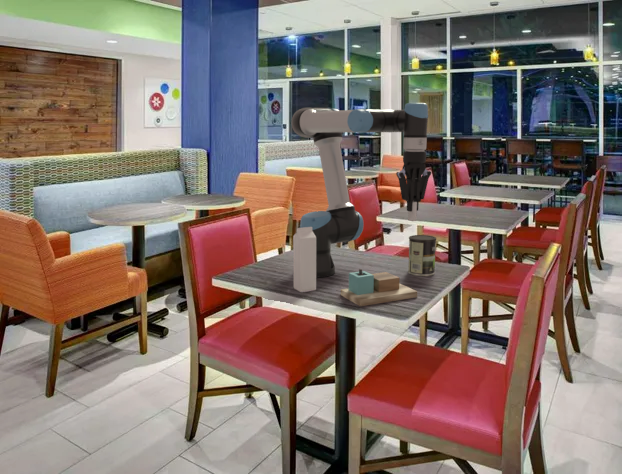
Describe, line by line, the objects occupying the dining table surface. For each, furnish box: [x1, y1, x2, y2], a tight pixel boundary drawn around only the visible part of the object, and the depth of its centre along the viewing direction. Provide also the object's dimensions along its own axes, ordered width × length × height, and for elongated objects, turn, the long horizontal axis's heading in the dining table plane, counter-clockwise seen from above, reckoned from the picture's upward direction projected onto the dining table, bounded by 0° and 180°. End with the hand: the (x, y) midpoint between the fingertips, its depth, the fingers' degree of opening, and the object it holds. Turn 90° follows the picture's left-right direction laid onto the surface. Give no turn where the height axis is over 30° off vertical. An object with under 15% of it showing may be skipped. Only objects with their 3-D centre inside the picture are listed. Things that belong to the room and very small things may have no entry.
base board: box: [340, 268, 418, 307], centre depth 182 cm, size 13×22×10 cm, turn 116°
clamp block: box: [371, 271, 400, 292], centre depth 185 cm, size 8×8×4 cm
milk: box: [292, 227, 317, 293], centre depth 189 cm, size 6×6×22 cm
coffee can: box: [407, 234, 437, 277], centre depth 211 cm, size 10×10×14 cm
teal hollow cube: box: [348, 270, 374, 295], centre depth 181 cm, size 6×6×6 cm
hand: (412, 220), depth 186 cm, fingers closed
